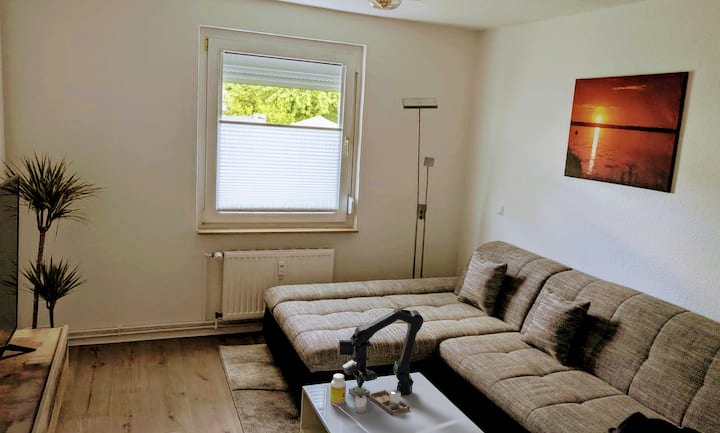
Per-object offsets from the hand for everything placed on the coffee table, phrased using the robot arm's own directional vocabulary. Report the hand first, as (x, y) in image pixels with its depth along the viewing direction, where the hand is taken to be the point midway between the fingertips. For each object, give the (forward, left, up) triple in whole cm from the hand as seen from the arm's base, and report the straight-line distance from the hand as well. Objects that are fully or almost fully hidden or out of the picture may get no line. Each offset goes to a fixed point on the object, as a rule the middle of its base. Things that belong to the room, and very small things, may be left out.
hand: (359, 387), depth 255 cm
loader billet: (-6, +18, -3) cm, 19 cm away
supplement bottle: (+12, +1, -4) cm, 13 cm away
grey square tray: (0, 0, -4) cm, 4 cm away
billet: (+8, +13, -4) cm, 16 cm away
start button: (0, 0, -3) cm, 3 cm away
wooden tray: (-6, +14, -4) cm, 16 cm away
